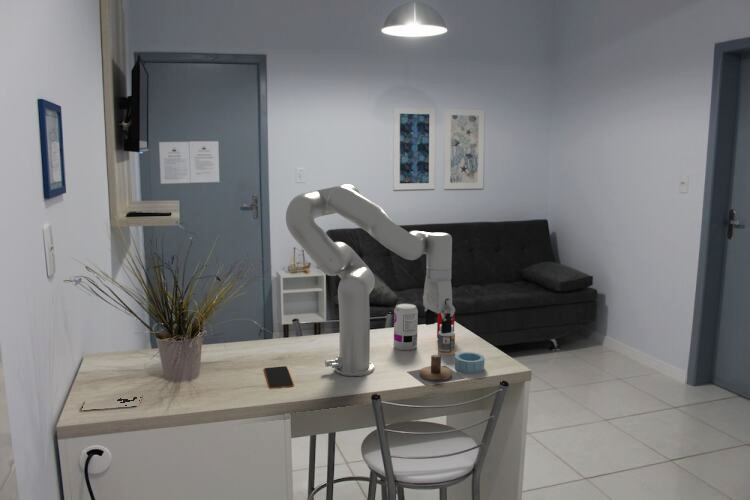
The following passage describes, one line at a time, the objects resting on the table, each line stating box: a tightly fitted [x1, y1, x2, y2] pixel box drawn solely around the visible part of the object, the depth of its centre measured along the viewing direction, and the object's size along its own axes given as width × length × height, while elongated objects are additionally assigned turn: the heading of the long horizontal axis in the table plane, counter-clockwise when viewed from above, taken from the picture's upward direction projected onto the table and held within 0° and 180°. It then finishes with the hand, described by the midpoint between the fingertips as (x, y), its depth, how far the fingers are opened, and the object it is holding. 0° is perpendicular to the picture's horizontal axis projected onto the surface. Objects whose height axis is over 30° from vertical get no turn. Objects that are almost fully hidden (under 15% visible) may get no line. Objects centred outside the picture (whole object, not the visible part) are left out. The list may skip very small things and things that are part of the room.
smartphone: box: [263, 365, 295, 389], centre depth 191 cm, size 8×17×1 cm, turn 16°
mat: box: [406, 365, 466, 387], centre depth 194 cm, size 14×12×1 cm
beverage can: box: [436, 312, 456, 339], centre depth 228 cm, size 6×6×12 cm
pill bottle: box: [437, 325, 456, 356], centre depth 214 cm, size 6×6×10 cm
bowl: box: [454, 351, 485, 374], centre depth 200 cm, size 9×9×4 cm
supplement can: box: [393, 303, 419, 351], centre depth 219 cm, size 8×8×15 cm
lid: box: [419, 354, 452, 381], centre depth 193 cm, size 10×10×6 cm
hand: (438, 328), depth 191 cm, fingers open, 9 cm apart
